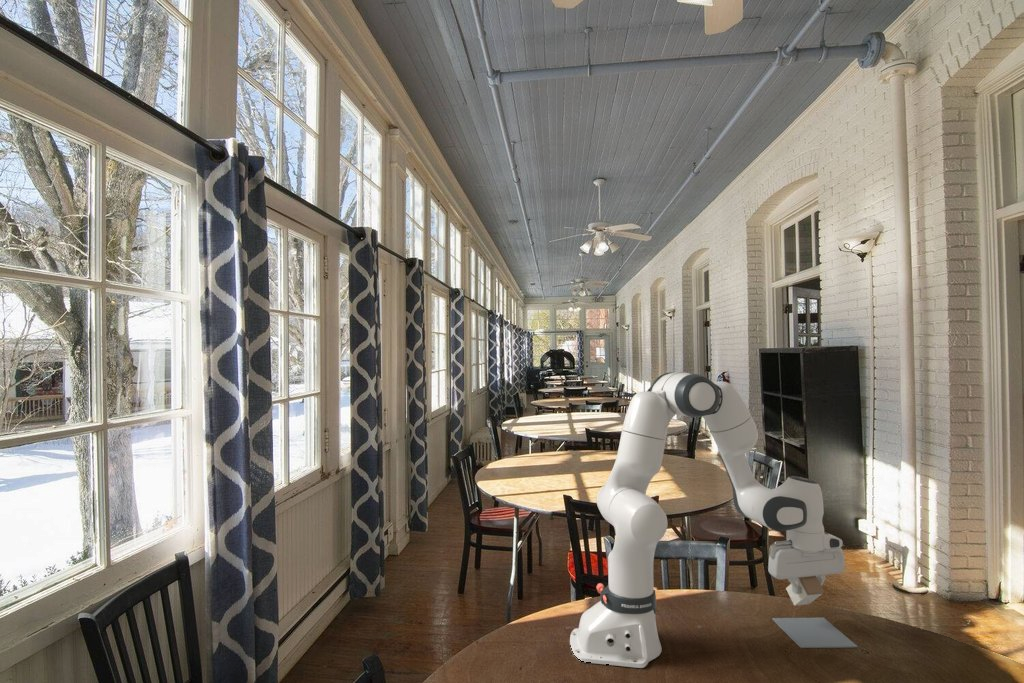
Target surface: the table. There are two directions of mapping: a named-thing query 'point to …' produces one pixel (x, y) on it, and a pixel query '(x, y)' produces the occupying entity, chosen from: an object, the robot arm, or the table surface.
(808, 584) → the cream block
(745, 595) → the table surface
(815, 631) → the slate mat
